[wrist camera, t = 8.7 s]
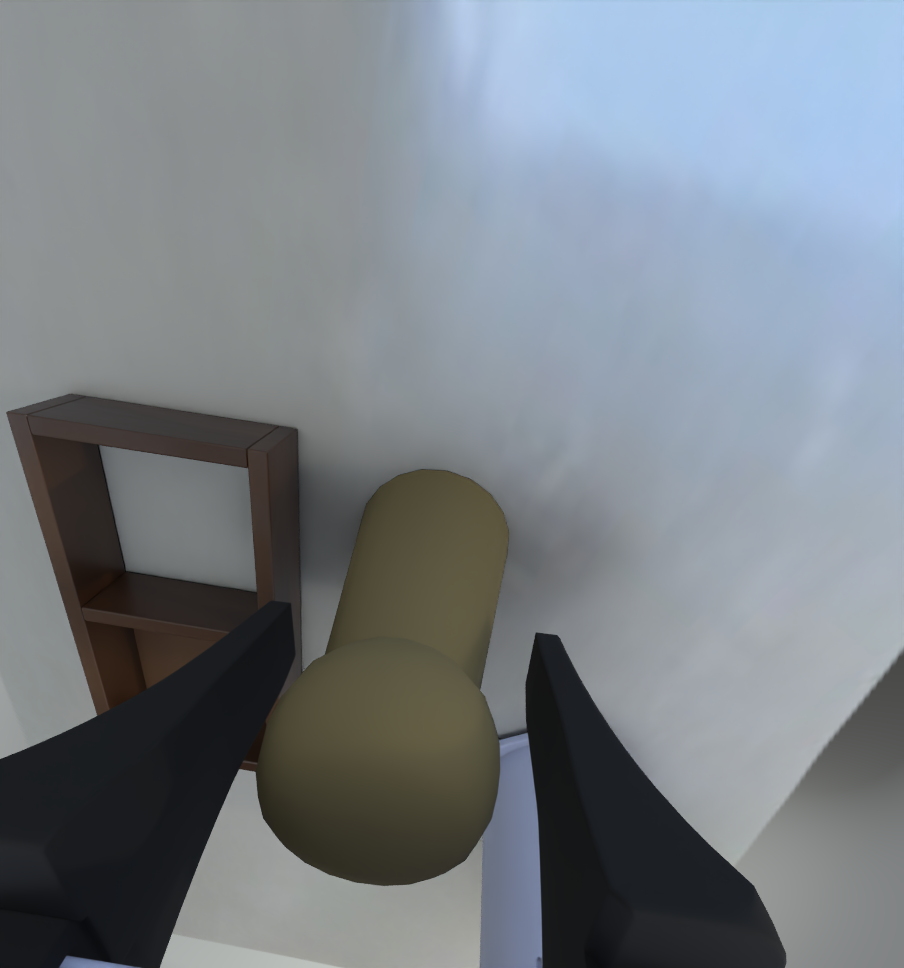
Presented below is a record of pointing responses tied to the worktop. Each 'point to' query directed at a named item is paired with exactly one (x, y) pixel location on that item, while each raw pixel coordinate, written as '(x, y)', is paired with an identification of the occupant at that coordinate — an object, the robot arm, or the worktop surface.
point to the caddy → (96, 552)
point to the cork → (396, 695)
